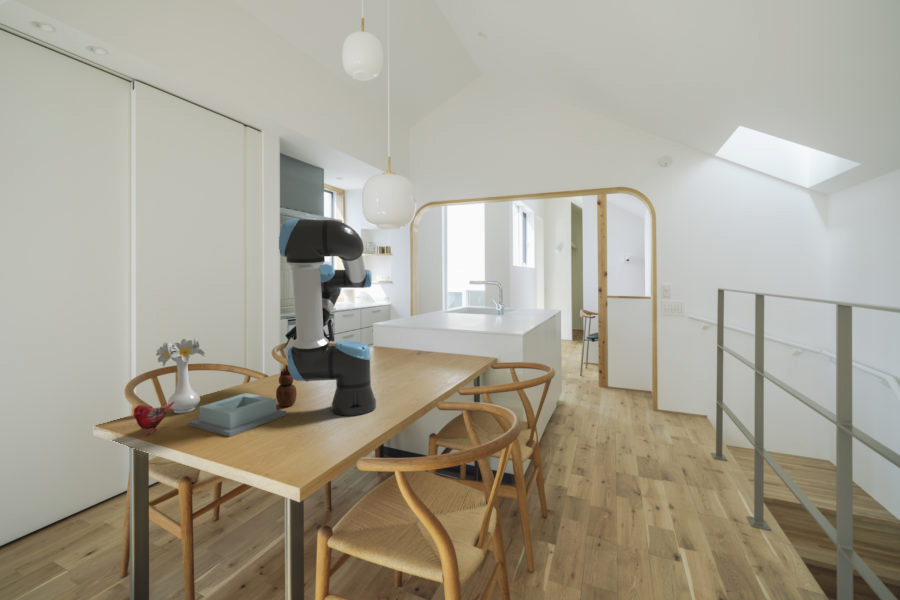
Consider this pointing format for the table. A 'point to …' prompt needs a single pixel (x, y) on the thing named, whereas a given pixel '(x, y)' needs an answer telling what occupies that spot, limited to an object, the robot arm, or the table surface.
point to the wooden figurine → (286, 389)
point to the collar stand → (237, 414)
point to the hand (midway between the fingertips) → (302, 354)
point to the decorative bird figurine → (149, 416)
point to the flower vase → (181, 373)
